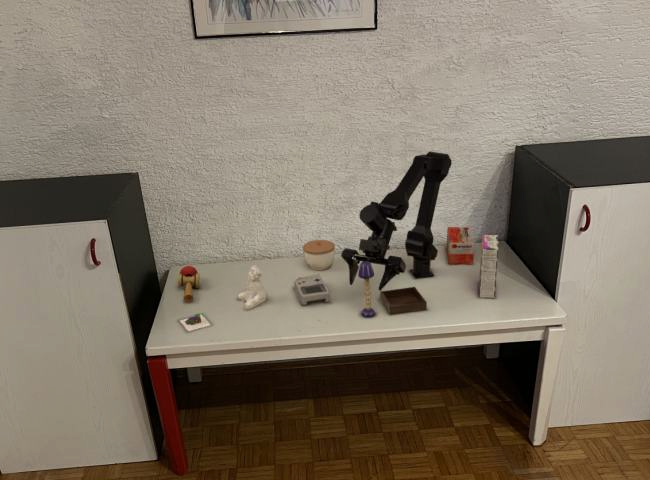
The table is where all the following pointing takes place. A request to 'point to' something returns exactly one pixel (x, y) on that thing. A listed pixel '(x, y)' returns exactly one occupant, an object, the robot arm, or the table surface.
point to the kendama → (188, 281)
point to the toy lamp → (366, 287)
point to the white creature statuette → (253, 289)
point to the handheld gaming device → (311, 289)
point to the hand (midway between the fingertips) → (364, 287)
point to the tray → (403, 300)
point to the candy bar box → (488, 266)
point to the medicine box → (460, 245)
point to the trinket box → (319, 254)
